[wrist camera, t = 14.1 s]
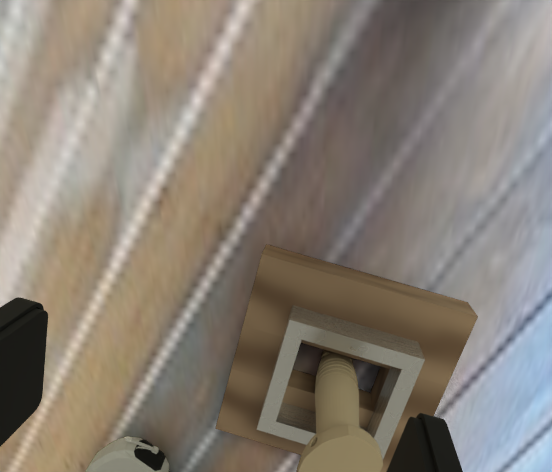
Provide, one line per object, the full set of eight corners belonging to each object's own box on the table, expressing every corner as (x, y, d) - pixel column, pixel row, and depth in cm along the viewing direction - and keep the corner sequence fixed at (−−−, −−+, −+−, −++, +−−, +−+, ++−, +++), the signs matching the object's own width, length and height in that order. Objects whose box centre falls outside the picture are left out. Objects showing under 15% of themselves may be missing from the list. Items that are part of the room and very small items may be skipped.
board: (266, 244, 43) (261, 254, 40) (467, 302, 42) (477, 316, 39) (222, 409, 48) (215, 428, 46) (397, 463, 48) (401, 486, 45)
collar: (292, 305, 41) (289, 319, 38) (418, 342, 40) (424, 359, 37) (261, 408, 44) (256, 429, 41) (376, 444, 44) (379, 467, 41)
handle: (375, 353, 44) (397, 467, 30) (331, 392, 46) (332, 516, 32) (340, 323, 44) (345, 423, 30) (297, 363, 46) (282, 475, 31)
